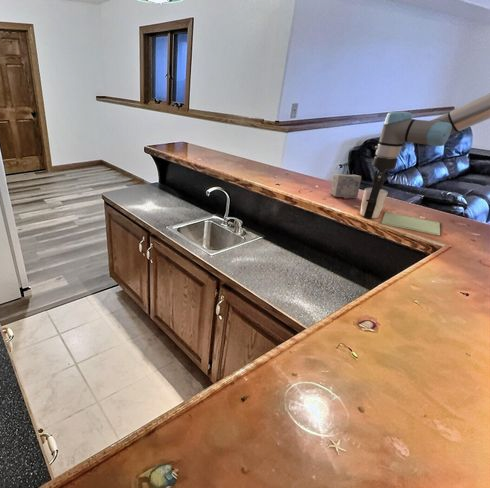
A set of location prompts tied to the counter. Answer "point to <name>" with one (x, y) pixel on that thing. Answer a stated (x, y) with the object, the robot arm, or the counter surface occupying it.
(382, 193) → the white cup
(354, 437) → the counter surface
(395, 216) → the napkin
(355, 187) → the incense holder
